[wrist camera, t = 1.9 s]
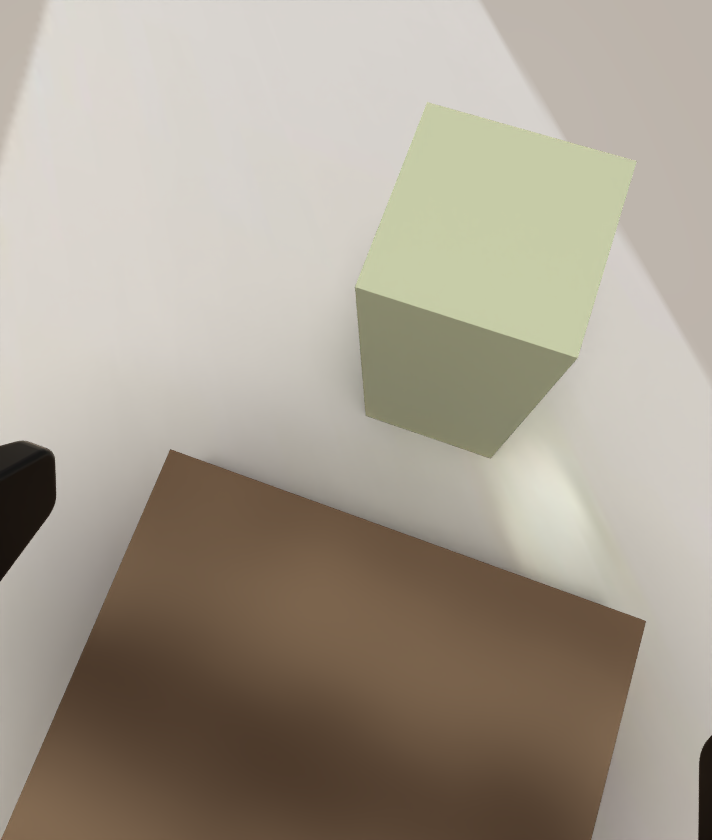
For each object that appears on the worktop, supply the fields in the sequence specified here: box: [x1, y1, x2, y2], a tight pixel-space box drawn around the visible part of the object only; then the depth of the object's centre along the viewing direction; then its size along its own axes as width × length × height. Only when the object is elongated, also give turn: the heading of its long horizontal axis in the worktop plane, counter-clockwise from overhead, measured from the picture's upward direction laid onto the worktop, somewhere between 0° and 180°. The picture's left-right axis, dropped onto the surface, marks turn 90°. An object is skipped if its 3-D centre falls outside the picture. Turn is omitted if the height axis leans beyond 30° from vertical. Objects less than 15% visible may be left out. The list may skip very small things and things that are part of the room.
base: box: [1, 449, 646, 840], centre depth 19 cm, size 14×14×3 cm
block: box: [355, 102, 636, 458], centre depth 18 cm, size 4×4×10 cm
